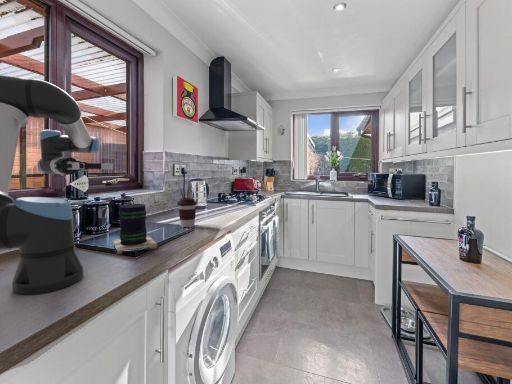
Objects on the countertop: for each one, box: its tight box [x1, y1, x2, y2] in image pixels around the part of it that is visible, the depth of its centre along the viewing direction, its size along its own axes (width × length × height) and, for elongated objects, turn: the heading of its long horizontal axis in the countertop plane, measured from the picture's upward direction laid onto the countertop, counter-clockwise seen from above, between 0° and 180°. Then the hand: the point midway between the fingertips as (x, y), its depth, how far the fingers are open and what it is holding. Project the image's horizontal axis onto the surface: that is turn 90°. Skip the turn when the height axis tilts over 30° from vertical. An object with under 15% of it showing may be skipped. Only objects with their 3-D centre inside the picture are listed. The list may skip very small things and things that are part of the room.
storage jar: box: [118, 203, 148, 246], centre depth 103 cm, size 10×10×15 cm
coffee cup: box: [177, 197, 198, 228], centre depth 138 cm, size 10×10×15 cm
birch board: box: [112, 234, 158, 255], centre depth 104 cm, size 16×14×2 cm
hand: (96, 166), depth 103 cm, fingers open, 13 cm apart
